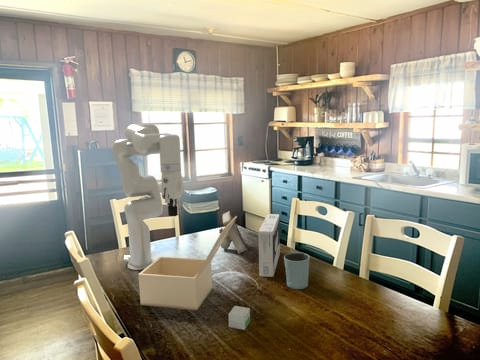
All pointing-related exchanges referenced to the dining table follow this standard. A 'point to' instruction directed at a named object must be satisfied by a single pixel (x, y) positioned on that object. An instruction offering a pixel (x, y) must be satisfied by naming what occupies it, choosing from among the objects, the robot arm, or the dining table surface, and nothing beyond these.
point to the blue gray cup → (297, 269)
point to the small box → (239, 317)
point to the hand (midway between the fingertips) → (173, 215)
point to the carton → (175, 283)
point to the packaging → (269, 245)
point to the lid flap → (216, 246)
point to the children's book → (232, 235)
